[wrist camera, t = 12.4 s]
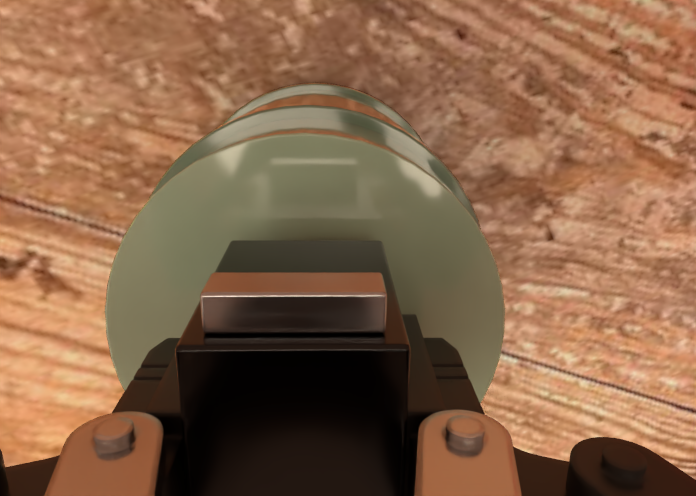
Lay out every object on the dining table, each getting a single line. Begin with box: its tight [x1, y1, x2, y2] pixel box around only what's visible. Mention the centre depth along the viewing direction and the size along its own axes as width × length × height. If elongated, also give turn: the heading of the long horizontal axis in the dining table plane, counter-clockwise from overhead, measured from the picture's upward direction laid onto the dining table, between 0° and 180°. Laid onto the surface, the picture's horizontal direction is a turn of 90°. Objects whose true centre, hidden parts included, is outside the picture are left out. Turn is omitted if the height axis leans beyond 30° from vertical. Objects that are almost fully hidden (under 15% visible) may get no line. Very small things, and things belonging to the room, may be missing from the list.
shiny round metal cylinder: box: [105, 83, 505, 403], centre depth 18 cm, size 10×10×11 cm
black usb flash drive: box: [175, 240, 411, 496], centre depth 10 cm, size 6×3×4 cm, turn 179°
